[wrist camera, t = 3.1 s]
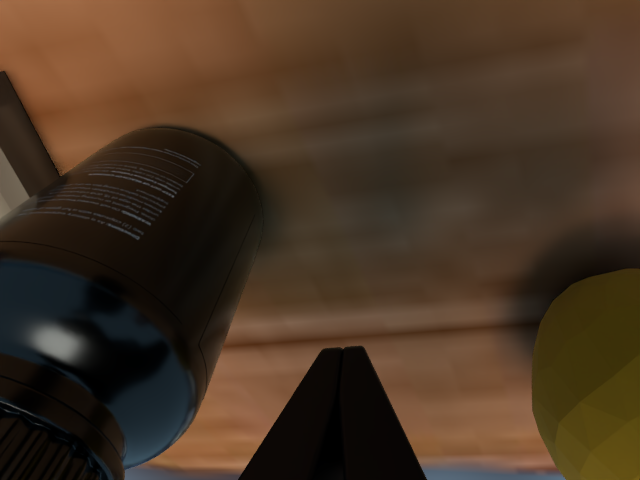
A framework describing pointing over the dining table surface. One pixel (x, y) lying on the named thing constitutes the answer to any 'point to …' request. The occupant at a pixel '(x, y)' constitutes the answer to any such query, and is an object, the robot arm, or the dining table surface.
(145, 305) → the supplement bottle
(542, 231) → the dining table surface
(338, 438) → the robot arm
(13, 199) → the metal tray
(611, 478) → the apple
